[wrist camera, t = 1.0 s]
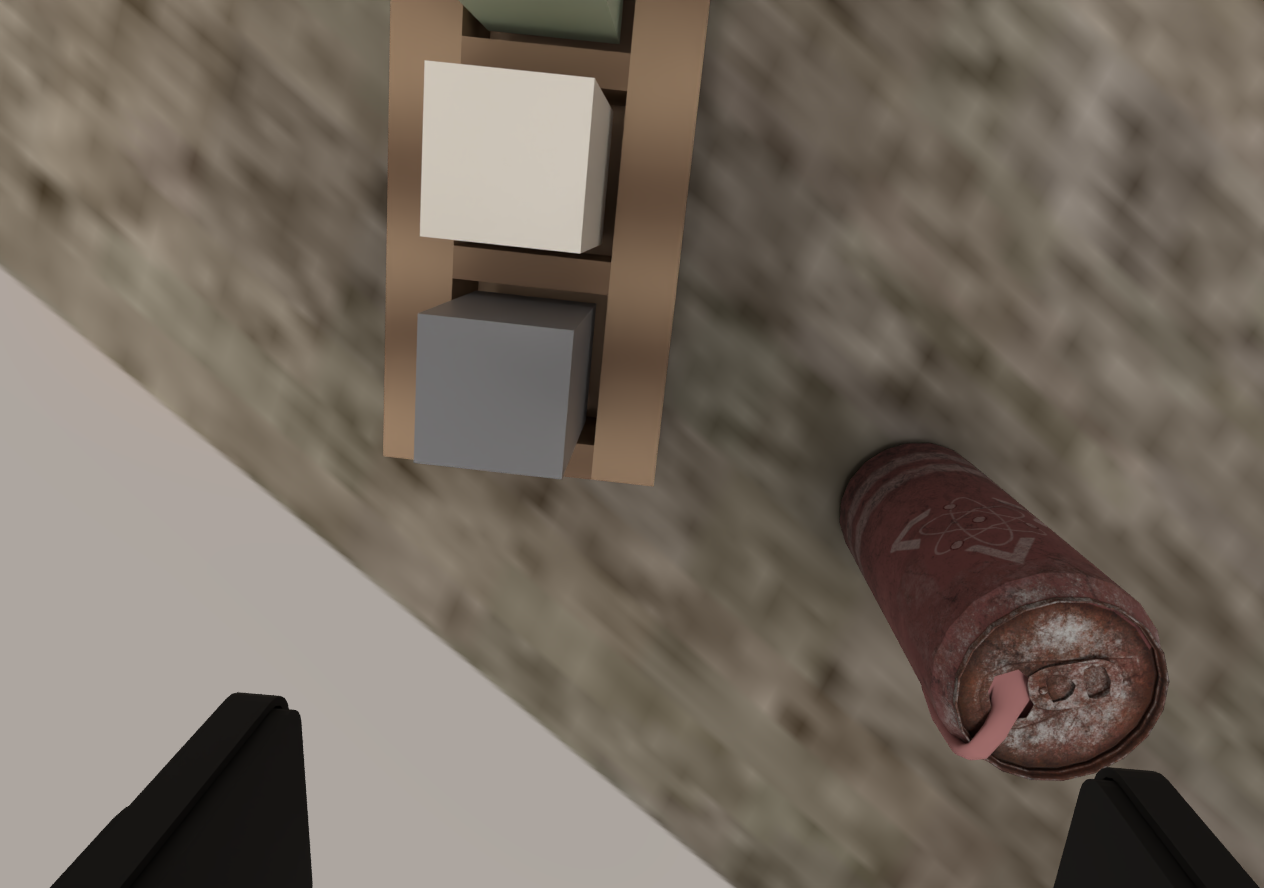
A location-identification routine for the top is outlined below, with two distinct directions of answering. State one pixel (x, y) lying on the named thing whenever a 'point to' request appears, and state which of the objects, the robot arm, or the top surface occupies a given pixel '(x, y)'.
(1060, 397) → the top surface
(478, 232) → the key ivory
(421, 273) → the brown wooden block rack
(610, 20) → the key sage
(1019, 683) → the can
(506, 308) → the key charcoal
